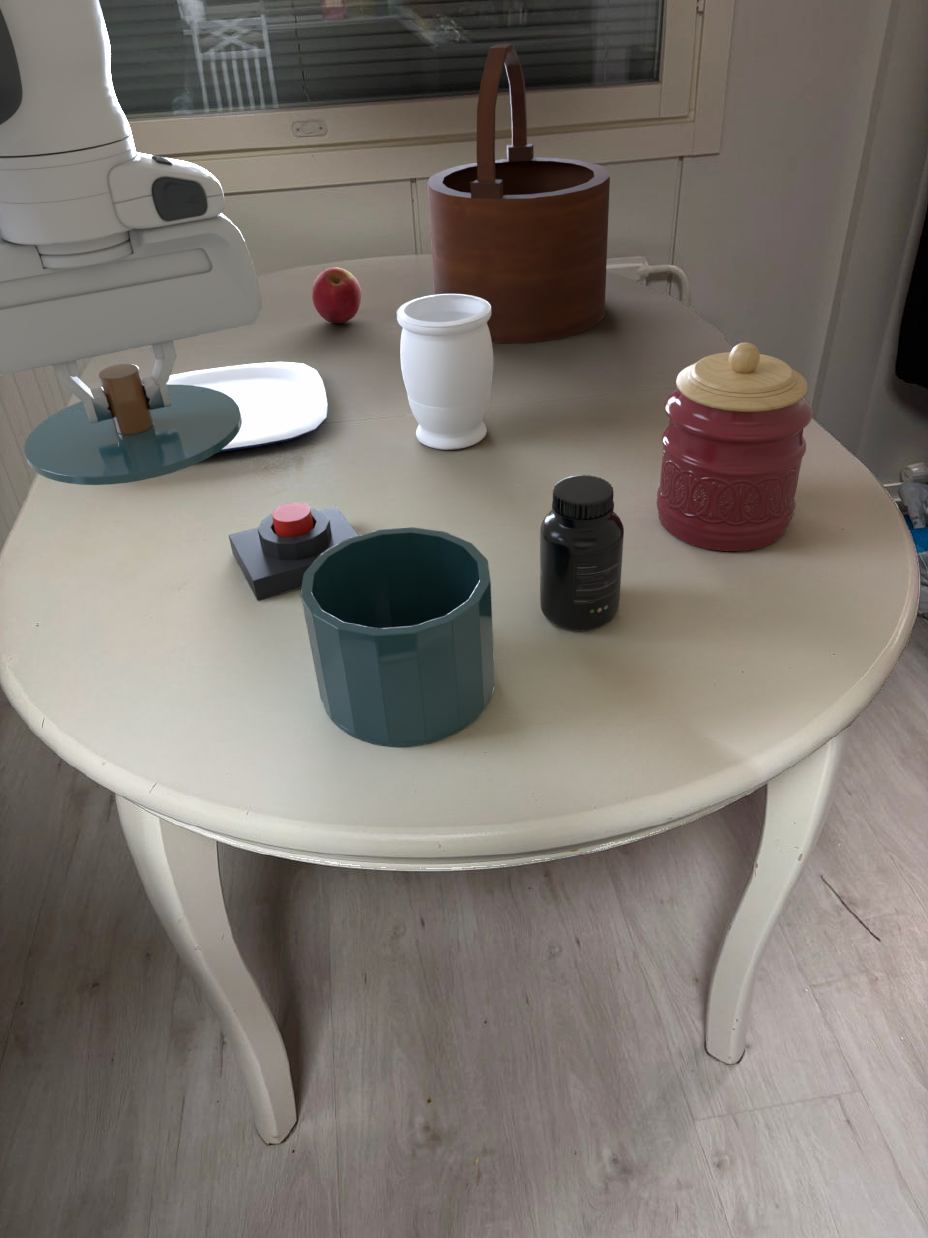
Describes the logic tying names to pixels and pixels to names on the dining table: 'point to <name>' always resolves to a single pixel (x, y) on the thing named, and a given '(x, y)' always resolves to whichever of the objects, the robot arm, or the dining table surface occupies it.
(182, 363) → the dining table surface
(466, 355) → the jar
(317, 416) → the plate
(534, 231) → the wooden bucket
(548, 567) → the supplement bottle
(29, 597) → the dining table surface
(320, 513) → the box
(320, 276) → the apple
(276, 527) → the release button
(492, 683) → the storage jar
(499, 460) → the dining table surface
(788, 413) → the kitchen canister
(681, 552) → the dining table surface
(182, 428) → the jar lid
